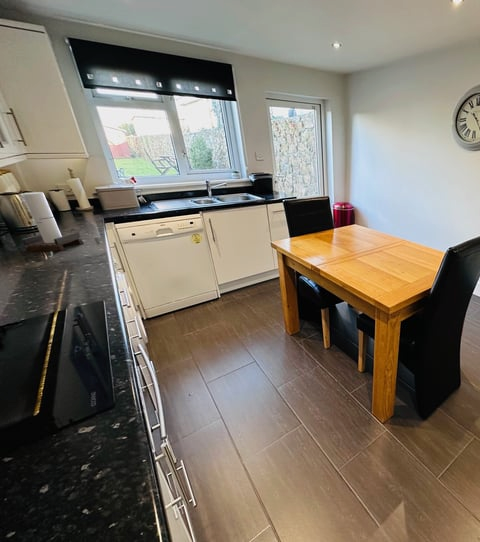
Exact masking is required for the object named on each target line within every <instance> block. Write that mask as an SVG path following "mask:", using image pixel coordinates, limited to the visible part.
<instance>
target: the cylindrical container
mask: <svg viewBox="0 0 480 542" xmlns="http://www.w3.org/2000/svg"><path fill="white" fill-rule="evenodd" d="M22 196H23V198H24V201H25V203H26V205H27V207H28V209H29V212H30V214H31V216H32V218H33V221H34V223H35V225H36V227H37V229H38V231H39V234H41V236H42V238H43V240H44V242H45V243H53V242H55V241H54V239H56V238H59V237H62V236H63V235H62V232H61V231H60V229H59V226H58V224H57V221H56V219H55V217H54V215H53V212H52V210H51V208H50V205H49V202H48V200H47V198H46V196H45V193H44V192H43V191H35V192H34V191H33V192H24V193H22Z"/></svg>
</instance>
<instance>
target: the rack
mask: <svg viewBox="0 0 480 542" xmlns="http://www.w3.org/2000/svg"><path fill="white" fill-rule="evenodd" d="M21 241H22V243H23V245H24V246H25V249H26V251H27V253H28V252H65V251H66V249H65V247H64V246H81V245H84V242H83V239H82V238H81V234H80V232H79V231H75V232H71V233H68V234H66V235H62V237H59V238H56V239H54V241H55V242H53V243H45V242H44V240H43V238H42V236H41V234H40V233H39V234H36V235H32V236H30V237H26V238H21Z"/></svg>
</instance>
